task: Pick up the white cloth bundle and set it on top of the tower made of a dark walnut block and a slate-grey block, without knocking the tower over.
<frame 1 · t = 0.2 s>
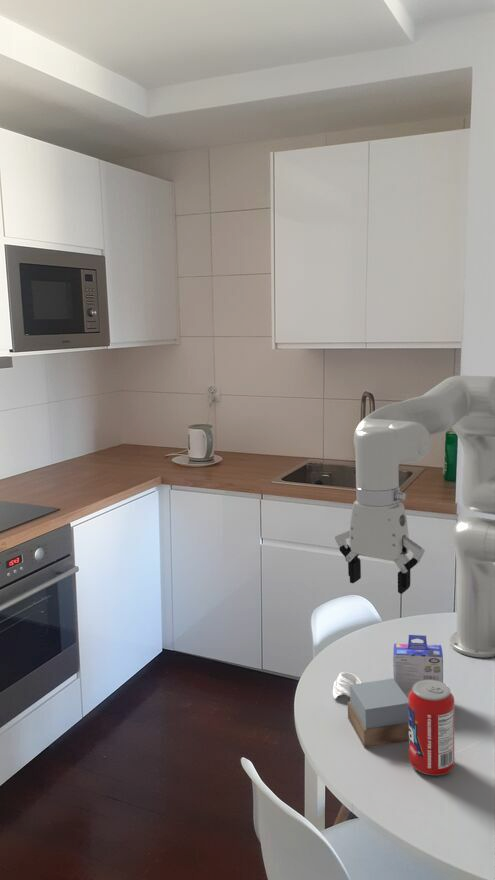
hand: (378, 585, 129), 31 cm above the table, fingers open, 9 cm apart
top block: (380, 712, 136), point 4 cm above the table, touching base block
white cloth bundle: (347, 694, 150), on the table
base block: (380, 730, 137), on the table, touching top block
ink cartridge box: (418, 704, 144), on the table
soda can: (431, 766, 125), on the table
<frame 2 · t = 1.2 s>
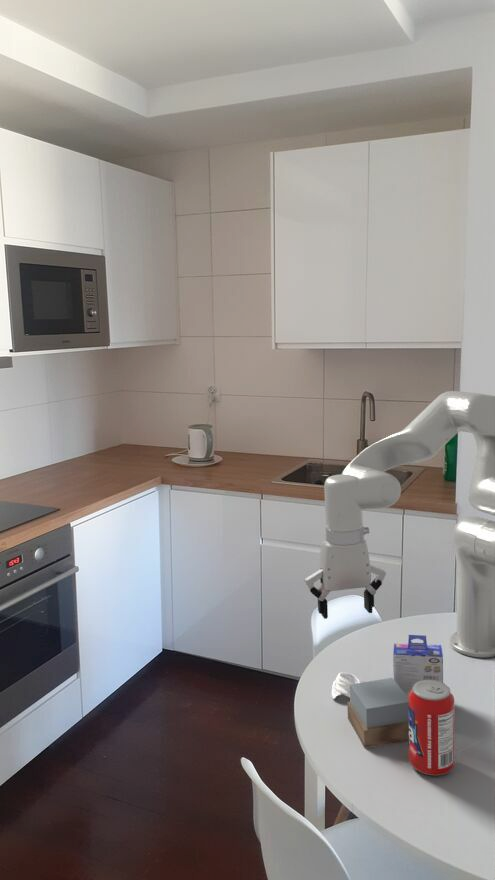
hand: (346, 613, 146), 18 cm above the table, fingers open, 9 cm apart
nothing on the table moved.
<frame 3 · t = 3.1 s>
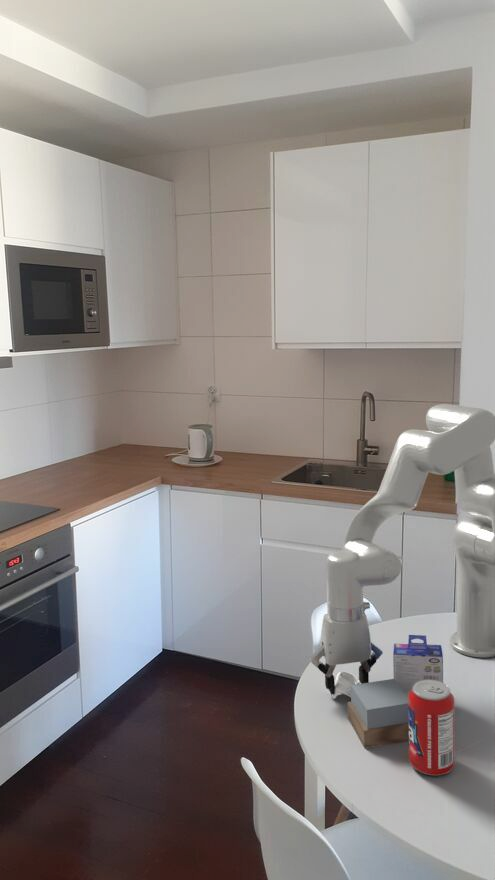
hand: (347, 688, 149), 1 cm above the table, fingers closed on white cloth bundle, 6 cm apart
top block: (381, 712, 136), point 4 cm above the table
white cloth bundle: (346, 693, 150), on the table, touching gripper
base block: (380, 730, 137), on the table
everything else where it was.
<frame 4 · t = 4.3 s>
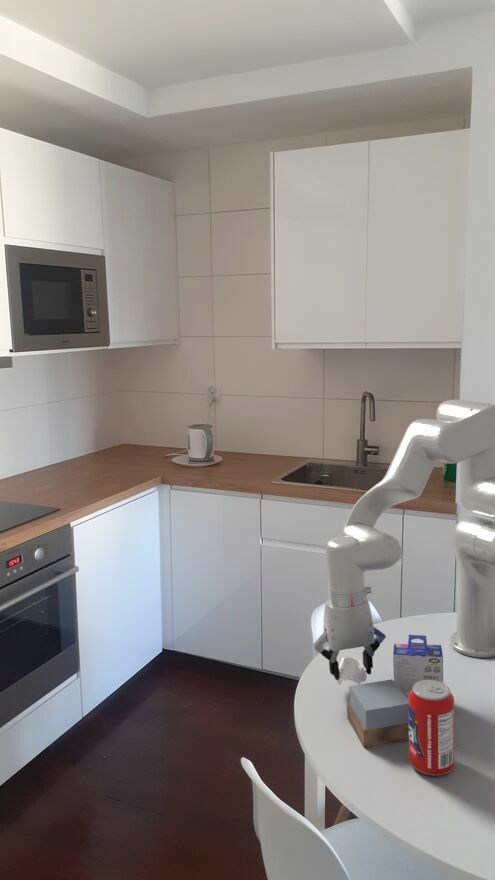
hand: (351, 673, 149), 4 cm above the table, fingers closed on white cloth bundle, 6 cm apart
top block: (379, 713, 135), point 4 cm above the table, touching base block
white cloth bundle: (351, 678, 150), point 3 cm above the table, touching gripper
base block: (379, 730, 137), on the table, touching top block
everything else where it was.
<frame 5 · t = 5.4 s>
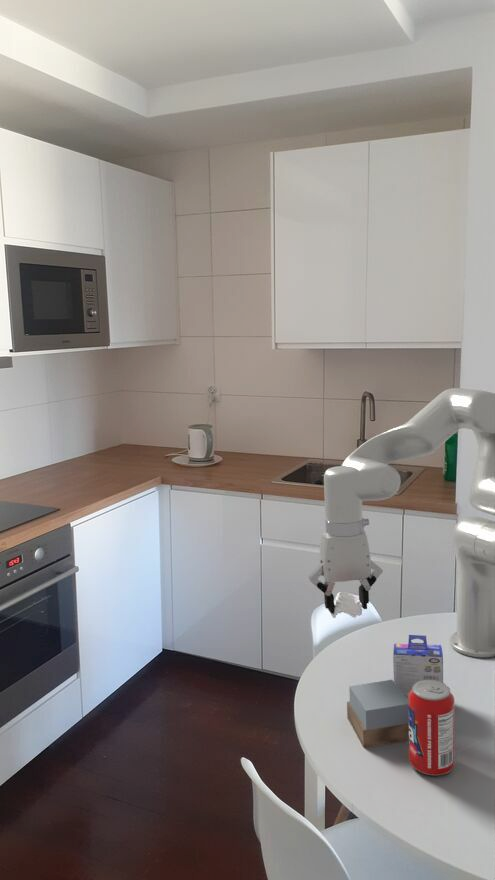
hand: (346, 608, 146), 19 cm above the table, fingers closed on white cloth bundle, 6 cm apart
white cloth bundle: (346, 614, 147), point 18 cm above the table, touching gripper
everything else where it was.
when the fingers open (10 cm above the table, at t = 8.1 s): white cloth bundle drops 1 cm, resting on top block.
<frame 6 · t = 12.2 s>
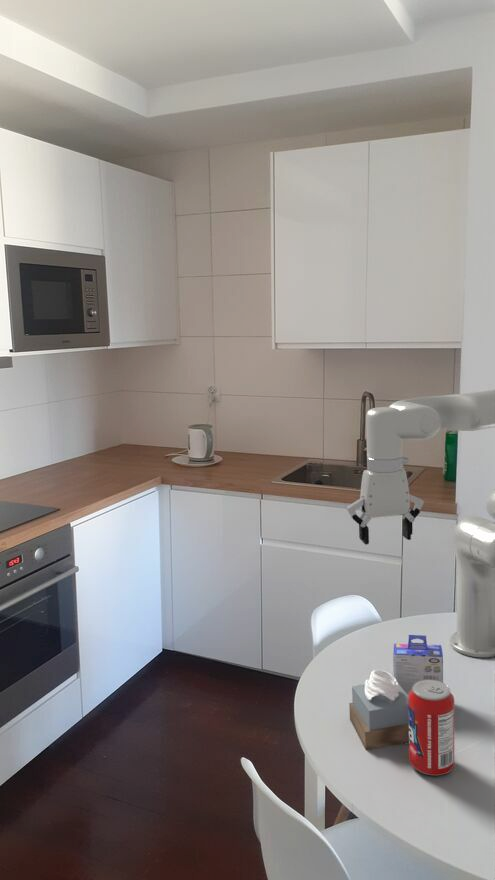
hand: (386, 540, 154), 30 cm above the table, fingers open, 9 cm apart
top block: (382, 713, 135), point 4 cm above the table, touching base block, white cloth bundle
white cloth bundle: (381, 694, 135), point 7 cm above the table, touching top block
everything else where it was.
at the end: white cloth bundle 0.5 cm off-centre on the top block, point 3.8 cm above the top block's base; top block 0.1 cm off-centre on the base block, point 4.0 cm above the base block's base; base block moved 0.9 cm from its start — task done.
